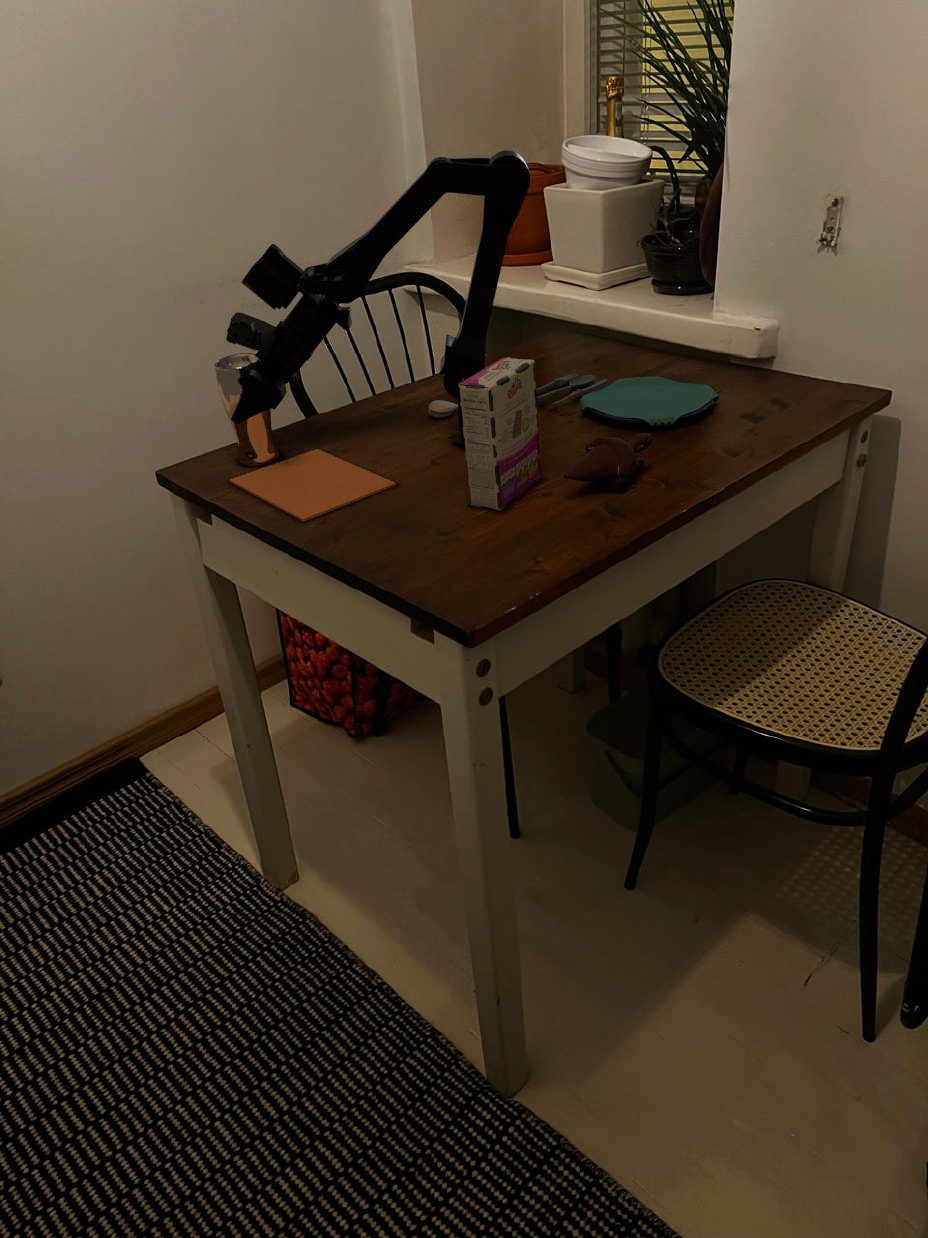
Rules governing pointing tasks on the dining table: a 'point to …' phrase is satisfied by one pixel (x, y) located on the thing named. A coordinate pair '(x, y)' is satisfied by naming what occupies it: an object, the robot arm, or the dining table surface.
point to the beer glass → (256, 430)
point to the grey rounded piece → (441, 408)
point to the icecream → (610, 461)
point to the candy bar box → (500, 432)
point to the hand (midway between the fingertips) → (239, 412)
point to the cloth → (311, 484)
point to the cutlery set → (637, 398)
